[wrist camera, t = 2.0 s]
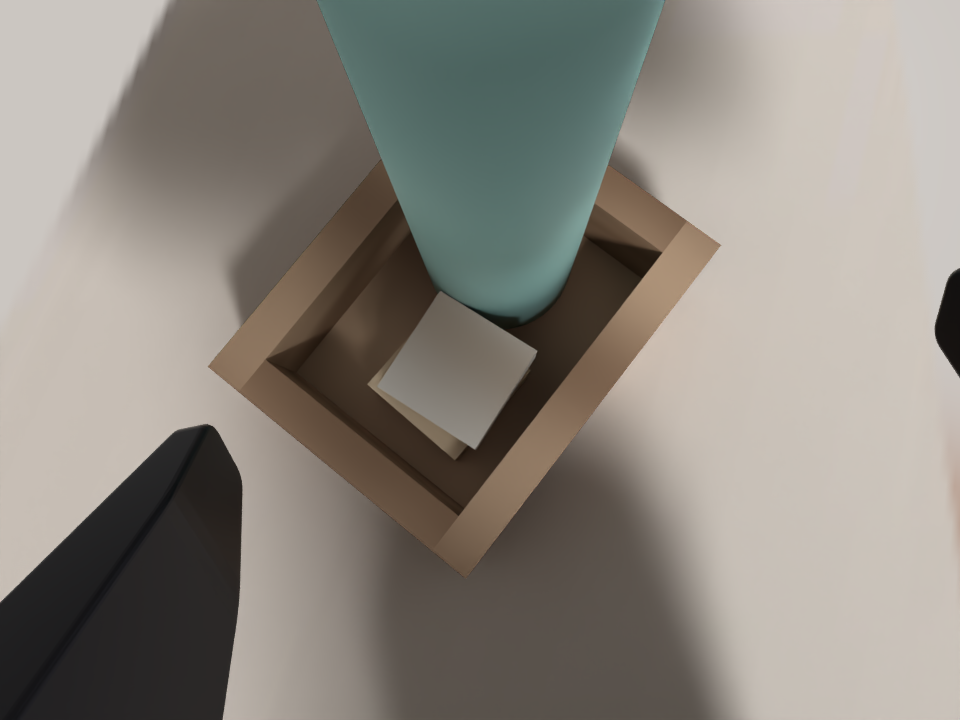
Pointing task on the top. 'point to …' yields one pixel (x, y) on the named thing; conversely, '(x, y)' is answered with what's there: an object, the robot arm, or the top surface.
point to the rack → (394, 316)
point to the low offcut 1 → (458, 370)
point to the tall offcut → (495, 130)
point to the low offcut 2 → (430, 429)
